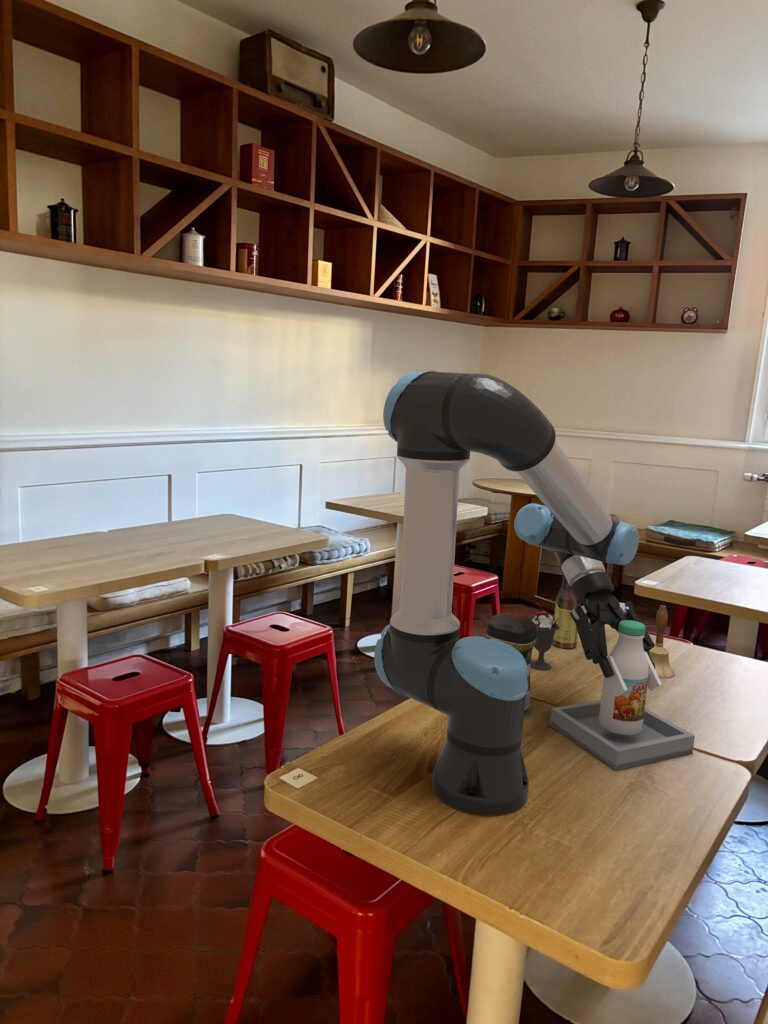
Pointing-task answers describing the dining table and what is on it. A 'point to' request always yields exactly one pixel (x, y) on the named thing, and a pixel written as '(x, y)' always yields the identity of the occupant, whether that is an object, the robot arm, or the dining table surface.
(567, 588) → the sauce bottle
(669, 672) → the hand bell
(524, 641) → the coffee jar
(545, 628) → the sundae
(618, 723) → the milk bottle
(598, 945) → the dining table surface
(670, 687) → the dining table surface
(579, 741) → the serving tray
